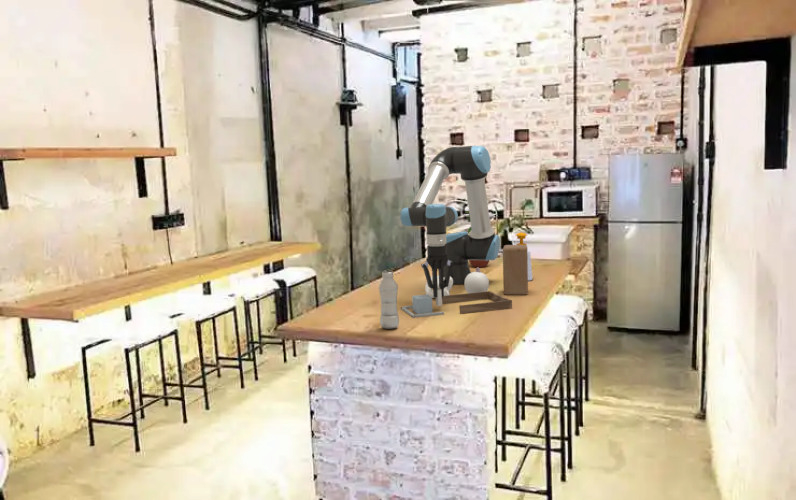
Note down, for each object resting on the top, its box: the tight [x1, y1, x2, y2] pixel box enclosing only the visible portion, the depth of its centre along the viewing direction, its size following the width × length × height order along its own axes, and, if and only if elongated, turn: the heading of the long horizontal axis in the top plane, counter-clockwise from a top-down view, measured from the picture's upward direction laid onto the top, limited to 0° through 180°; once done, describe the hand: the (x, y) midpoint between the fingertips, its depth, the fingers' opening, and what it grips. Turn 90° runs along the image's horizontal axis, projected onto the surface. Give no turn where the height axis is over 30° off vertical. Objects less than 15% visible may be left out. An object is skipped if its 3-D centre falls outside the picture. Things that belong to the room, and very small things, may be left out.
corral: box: [400, 305, 445, 319], centre depth 250 cm, size 16×12×1 cm
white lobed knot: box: [424, 274, 454, 299], centre depth 274 cm, size 11×12×9 cm
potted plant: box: [466, 210, 490, 268], centre depth 346 cm, size 17×16×35 cm
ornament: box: [463, 267, 490, 293], centre depth 274 cm, size 10×10×12 cm
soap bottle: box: [515, 231, 533, 282], centre depth 307 cm, size 10×14×22 cm
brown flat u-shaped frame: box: [442, 290, 513, 315], centre depth 256 cm, size 20×21×3 cm
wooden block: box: [502, 244, 529, 296], centre depth 276 cm, size 10×10×20 cm
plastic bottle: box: [378, 270, 400, 330], centre depth 226 cm, size 6×7×20 cm
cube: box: [411, 294, 434, 315], centre depth 250 cm, size 6×6×6 cm
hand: (438, 305), depth 252 cm, fingers closed
